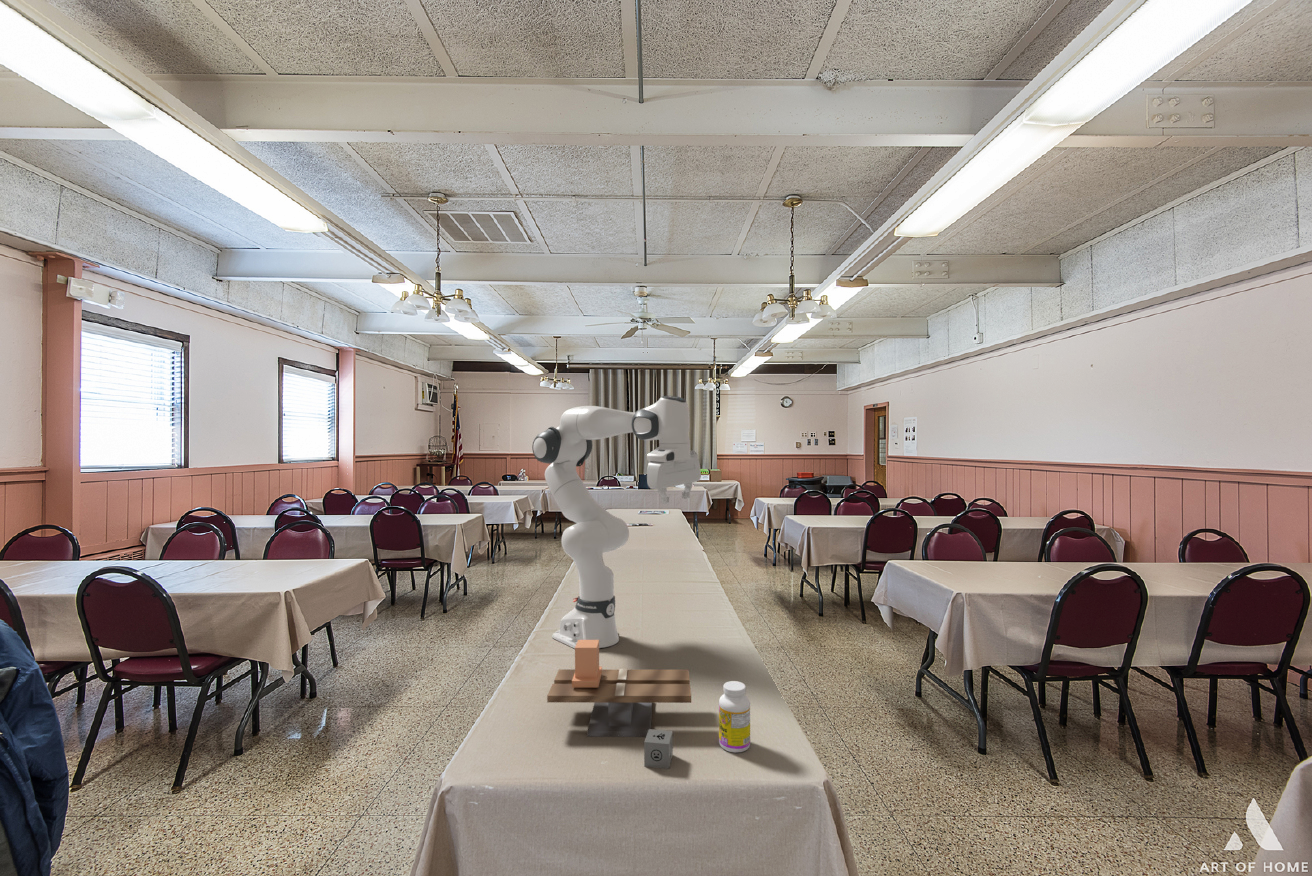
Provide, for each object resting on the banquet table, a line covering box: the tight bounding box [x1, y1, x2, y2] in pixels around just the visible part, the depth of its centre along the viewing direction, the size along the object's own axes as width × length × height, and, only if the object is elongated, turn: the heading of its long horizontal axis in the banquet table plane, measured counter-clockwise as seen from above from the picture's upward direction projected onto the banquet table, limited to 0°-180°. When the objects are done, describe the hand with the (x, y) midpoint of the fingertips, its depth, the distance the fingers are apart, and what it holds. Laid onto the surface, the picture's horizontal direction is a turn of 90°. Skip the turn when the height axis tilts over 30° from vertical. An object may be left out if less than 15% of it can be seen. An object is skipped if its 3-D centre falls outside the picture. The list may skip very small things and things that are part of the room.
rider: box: [572, 640, 603, 687], centre depth 132 cm, size 6×8×10 cm
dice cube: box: [643, 728, 674, 770], centre depth 115 cm, size 5×5×5 cm
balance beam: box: [546, 668, 692, 738], centre depth 132 cm, size 32×16×9 cm, turn 89°
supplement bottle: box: [718, 680, 751, 754], centre depth 121 cm, size 7×7×13 cm
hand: (675, 500), depth 162 cm, fingers open, 8 cm apart
